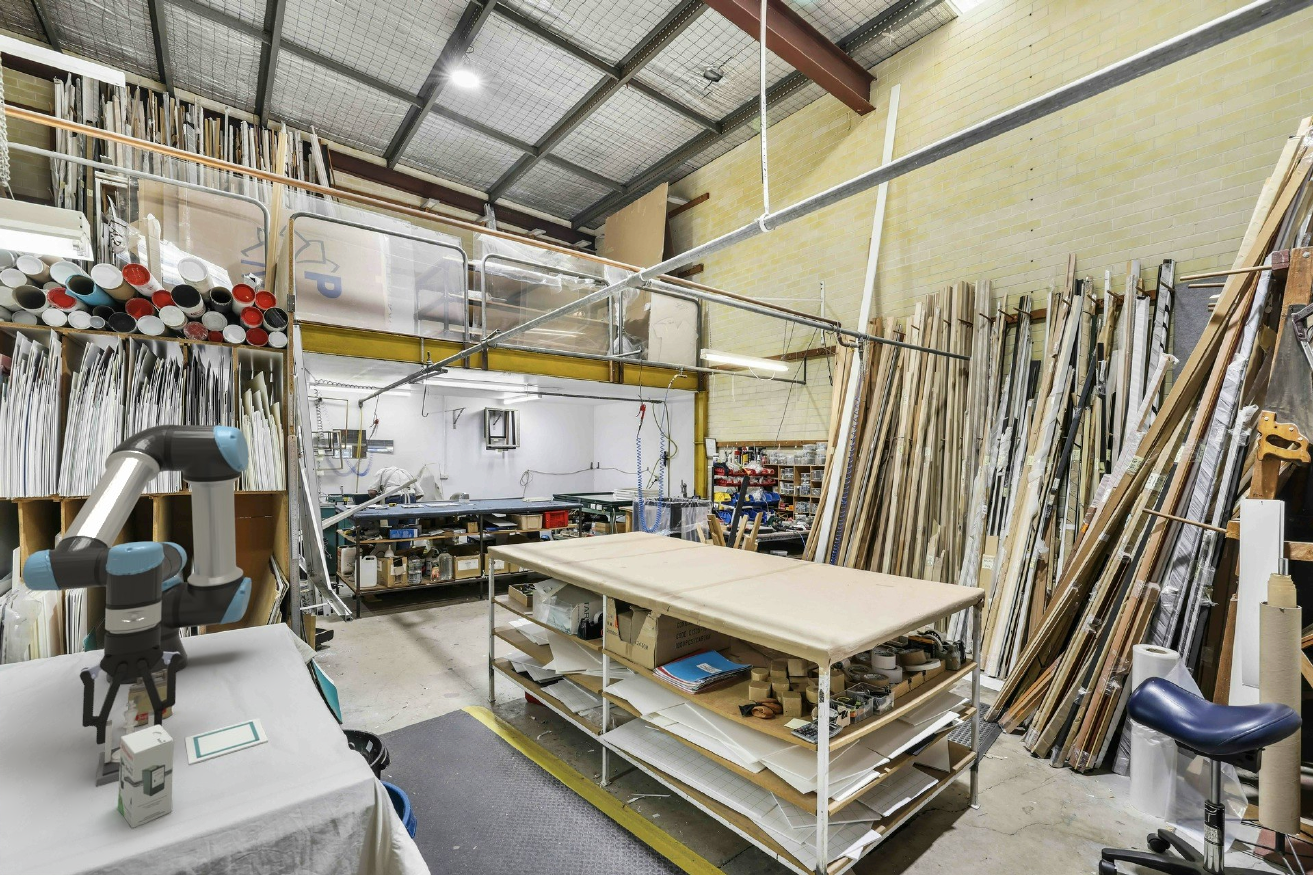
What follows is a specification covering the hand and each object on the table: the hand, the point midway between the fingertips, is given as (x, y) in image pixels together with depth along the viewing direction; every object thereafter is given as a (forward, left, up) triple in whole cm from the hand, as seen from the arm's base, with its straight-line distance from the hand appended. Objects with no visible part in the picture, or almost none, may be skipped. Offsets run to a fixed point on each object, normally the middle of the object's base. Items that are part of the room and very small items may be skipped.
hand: (129, 752), depth 100 cm
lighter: (-19, +3, -2) cm, 19 cm away
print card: (+2, +14, -2) cm, 14 cm away
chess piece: (0, 0, -1) cm, 1 cm away
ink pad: (0, 0, -2) cm, 2 cm away
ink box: (+19, +2, -2) cm, 19 cm away
